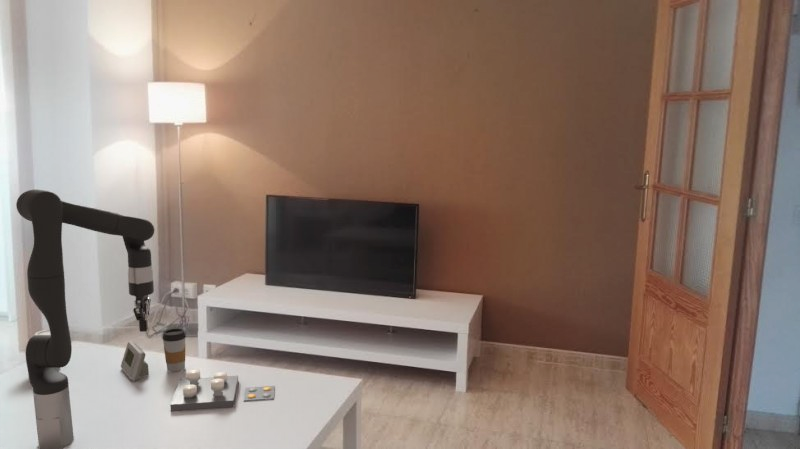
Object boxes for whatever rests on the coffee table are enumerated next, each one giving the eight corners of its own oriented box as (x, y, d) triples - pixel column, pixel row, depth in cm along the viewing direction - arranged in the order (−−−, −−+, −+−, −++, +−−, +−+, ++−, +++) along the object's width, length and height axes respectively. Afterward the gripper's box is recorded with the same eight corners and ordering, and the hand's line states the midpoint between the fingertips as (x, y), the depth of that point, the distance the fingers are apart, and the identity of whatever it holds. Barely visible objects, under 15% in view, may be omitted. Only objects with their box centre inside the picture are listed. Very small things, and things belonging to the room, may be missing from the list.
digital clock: (120, 367, 247) (118, 341, 245) (146, 363, 251) (144, 337, 249) (123, 384, 233) (120, 356, 231) (149, 380, 237) (148, 352, 235)
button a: (196, 404, 217) (195, 389, 216) (182, 405, 217) (181, 390, 216) (198, 399, 222) (197, 384, 221) (184, 399, 221) (184, 385, 220)
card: (273, 399, 222) (273, 397, 222) (243, 401, 220) (243, 399, 220) (274, 386, 232) (274, 385, 232) (245, 388, 230) (245, 387, 230)
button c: (199, 388, 226) (199, 374, 225) (186, 389, 225) (185, 375, 224) (201, 383, 230) (200, 369, 229) (188, 384, 229) (187, 369, 228)
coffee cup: (163, 367, 248) (160, 329, 245) (186, 363, 252) (184, 326, 249) (165, 375, 241) (163, 337, 238) (189, 371, 244) (186, 333, 241)
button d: (226, 391, 227) (226, 376, 226) (213, 392, 227) (213, 377, 226) (228, 385, 232) (227, 371, 231) (215, 386, 231) (214, 372, 230)
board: (233, 407, 216) (233, 400, 216) (170, 411, 213) (170, 404, 212) (238, 382, 235) (238, 375, 235) (180, 385, 232) (180, 379, 232)
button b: (224, 398, 218) (223, 383, 217) (210, 399, 218) (209, 384, 217) (225, 392, 223) (224, 378, 222) (212, 393, 222) (211, 378, 221)
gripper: (134, 274, 217) (136, 325, 219) (123, 284, 204) (126, 337, 206) (157, 274, 218) (160, 324, 220) (148, 284, 205) (150, 337, 208)
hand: (143, 330), depth 213 cm, fingers closed
